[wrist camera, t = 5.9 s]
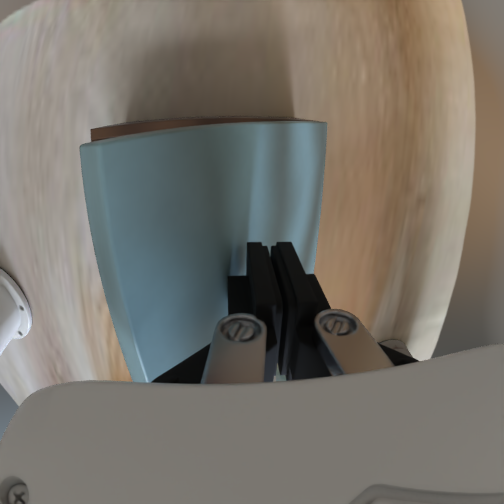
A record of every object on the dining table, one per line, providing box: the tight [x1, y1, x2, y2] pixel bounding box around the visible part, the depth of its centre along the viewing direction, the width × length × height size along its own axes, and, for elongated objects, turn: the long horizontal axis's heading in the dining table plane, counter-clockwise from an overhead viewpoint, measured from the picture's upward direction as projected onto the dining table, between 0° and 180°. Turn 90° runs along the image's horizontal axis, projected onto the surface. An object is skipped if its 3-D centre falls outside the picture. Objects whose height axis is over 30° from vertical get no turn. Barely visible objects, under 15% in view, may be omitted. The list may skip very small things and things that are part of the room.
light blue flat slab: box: [80, 121, 327, 383], centre depth 14 cm, size 16×11×1 cm
